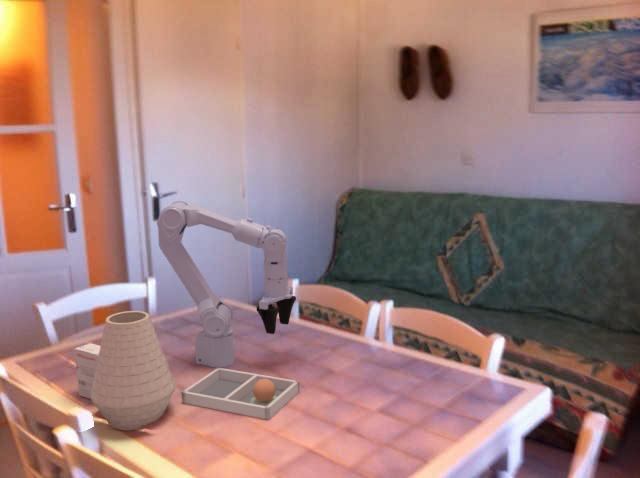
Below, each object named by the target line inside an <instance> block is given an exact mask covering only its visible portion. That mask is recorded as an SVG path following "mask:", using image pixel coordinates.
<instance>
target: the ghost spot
mask: <svg viewBox="0 0 640 478" xmlns="http://www.w3.org/2000/svg"><path fill="white" fill-rule="evenodd" d="M276 398H277V396H275V395H274V397H273V398H272V399H271V400H269V401H267V402H261V401H259V400H257V399H256V398H255V397H253V398H252V399H251V401H250V402H251V404H256V405H261V406H268V405H269V404H270V403H271V402H272V401H273V400H275V399H276Z"/></svg>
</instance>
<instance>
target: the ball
mask: <svg viewBox="0 0 640 478" xmlns="http://www.w3.org/2000/svg"><path fill="white" fill-rule="evenodd" d="M253 394H254V396H255V398H256V399H257V400H259V401H261V402H267V401H269V400H271V399H272V398H273V397H274V395H275V386H274V384H273V382H271V381H270V380H268V379H261V380H259V381H257V382H256V383H255V385H254V387H253Z"/></svg>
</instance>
